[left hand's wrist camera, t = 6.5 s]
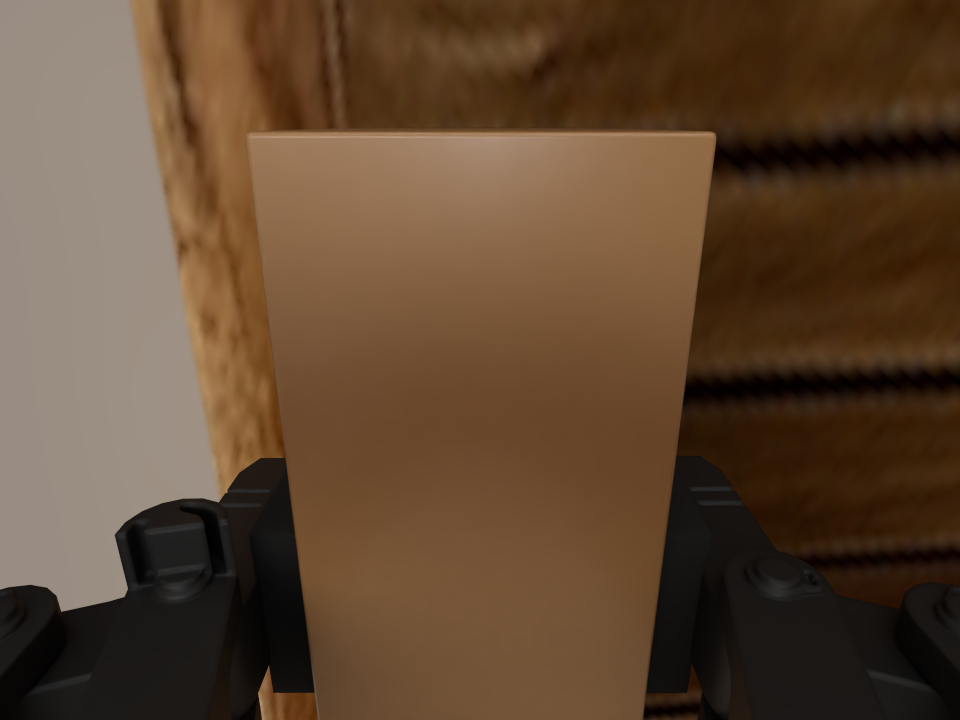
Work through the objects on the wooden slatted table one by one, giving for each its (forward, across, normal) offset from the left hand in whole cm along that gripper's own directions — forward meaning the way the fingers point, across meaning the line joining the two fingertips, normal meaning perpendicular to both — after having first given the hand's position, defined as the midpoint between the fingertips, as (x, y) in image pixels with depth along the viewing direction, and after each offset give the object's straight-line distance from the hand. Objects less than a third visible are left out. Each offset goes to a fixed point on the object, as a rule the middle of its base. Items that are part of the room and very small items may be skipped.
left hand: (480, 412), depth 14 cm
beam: (+1, 0, -23) cm, 23 cm away
